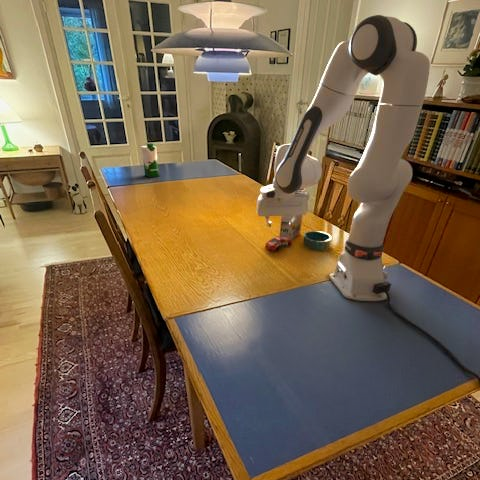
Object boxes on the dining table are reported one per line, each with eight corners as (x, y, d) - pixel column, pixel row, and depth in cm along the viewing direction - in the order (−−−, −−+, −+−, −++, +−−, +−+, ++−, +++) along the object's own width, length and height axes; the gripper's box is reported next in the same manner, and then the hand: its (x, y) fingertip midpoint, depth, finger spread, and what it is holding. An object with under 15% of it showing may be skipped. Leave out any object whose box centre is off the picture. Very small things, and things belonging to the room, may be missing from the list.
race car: (283, 240, 148) (284, 232, 146) (293, 244, 145) (294, 235, 142) (262, 248, 141) (263, 239, 138) (272, 253, 137) (273, 243, 135)
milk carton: (149, 177, 228) (145, 144, 216) (143, 175, 233) (138, 142, 222) (161, 176, 232) (157, 143, 221) (154, 173, 238) (151, 141, 226)
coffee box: (292, 240, 149) (296, 203, 139) (279, 237, 151) (282, 200, 142) (300, 233, 155) (305, 197, 146) (287, 230, 158) (291, 195, 148)
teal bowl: (331, 252, 140) (333, 242, 137) (304, 251, 140) (305, 241, 137) (326, 241, 149) (328, 231, 146) (301, 240, 149) (302, 230, 146)
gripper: (307, 187, 133) (302, 222, 142) (256, 188, 130) (254, 223, 138) (312, 192, 128) (307, 228, 137) (259, 193, 125) (257, 229, 133)
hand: (280, 226), depth 138 cm, fingers open, 8 cm apart
